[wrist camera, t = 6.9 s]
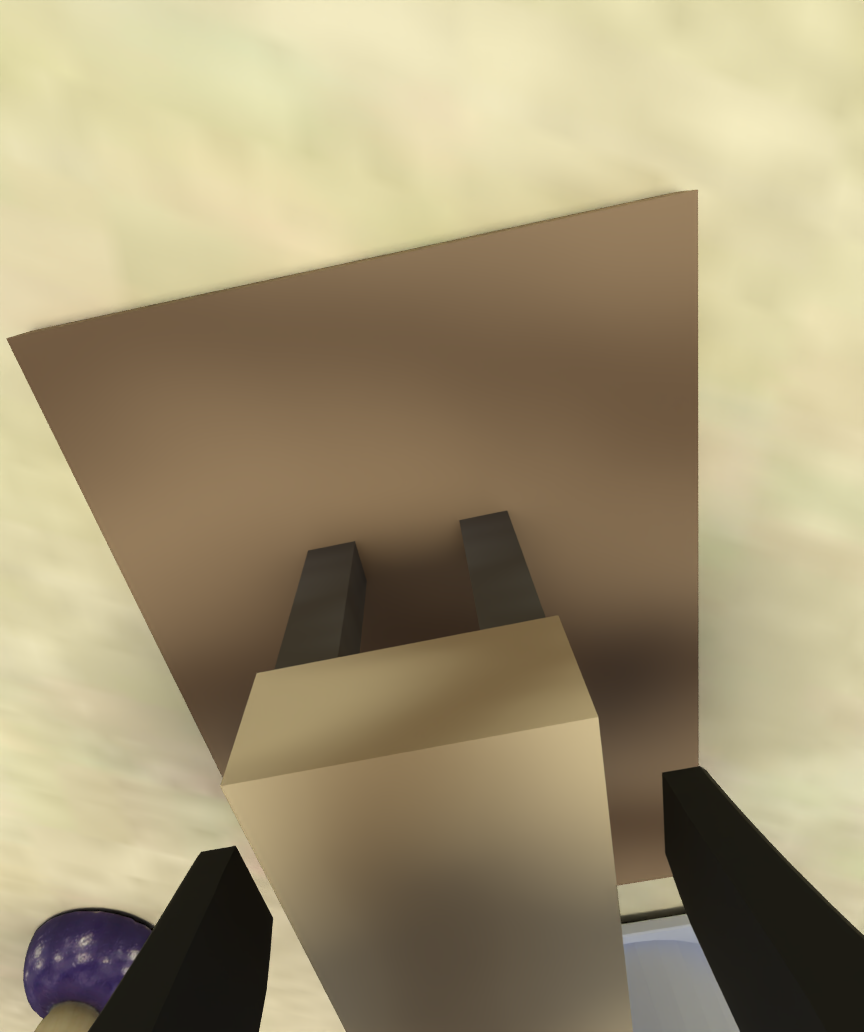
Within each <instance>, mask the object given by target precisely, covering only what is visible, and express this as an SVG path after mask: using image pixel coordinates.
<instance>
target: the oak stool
mask: <svg viewBox="0 0 864 1032" xmlns="http://www.w3.org/2000/svg"><path fill="white" fill-rule="evenodd" d="M459 522H460V527H461V532H462V537H463V543H464V548H465V553H466V559H467V564H468V569H469V575H470V580H471V585H472V591H473V596H474V601H475V606H476V612H477V617H478V622H479V628H480V630H479V631H473V632H468V633H463V634H458V635H453V636H447V637H442V638H437V639H432V640H427V641H421V642H416V643H411V644H406V645H401V646H395V647H390V648H385V649H380V650H375V651H369V652H364V653H360V645H361V635H362V625H363V615H364V604H365V594H366V584H367V580H366V577H365V574H364V570H363V567H362V563H361V560H360V557H359V553H358V550H357V547H356V543H355V541H353V542H348V543H343V544H338V545H333V546H328V547H323V548H318V549H313V550H308V552H307V556H306V559H305V563H304V566H303V570H302V574H301V577H300V581H299V584H298V588H297V591H296V595H295V598H294V602H293V605H292V609H291V612H290V616H289V619H288V623H287V626H286V630H285V633H284V637H283V640H282V644H281V647H280V651H279V654H278V658H277V661H276V665H275V668H274V670H271V671H266V672H260V673H257V674H256V677H255V680H254V683H253V686H252V689H251V692H250V695H249V699H248V702H247V705H246V708H245V711H244V714H243V717H242V720H241V723H240V727H239V730H238V733H237V736H236V739H235V742H234V745H233V748H232V751H231V755H230V758H229V761H228V764H227V767H226V770H225V773H224V776H223V779H222V783H221V786H220V787H221V789H222V791H223V793H224V795H225V797H226V798H227V800H228V802H229V804H230V806H231V808H232V810H233V812H234V814H235V816H236V818H237V820H238V822H239V824H240V826H241V828H242V830H243V832H244V834H245V836H246V837H247V839H248V841H249V843H250V845H251V847H252V849H253V851H254V853H255V855H256V857H257V859H258V861H259V863H260V865H261V867H262V869H263V871H264V873H265V875H266V876H267V878H268V880H269V882H270V884H271V886H272V888H273V890H274V892H275V894H276V896H277V898H278V900H279V902H280V904H281V906H282V908H283V910H284V912H285V914H286V915H287V917H288V919H289V921H290V923H291V925H292V927H293V929H294V931H295V933H296V935H297V937H298V939H299V941H300V943H301V945H302V947H303V949H304V951H305V953H306V954H307V956H308V958H309V960H310V962H311V964H312V966H313V968H314V970H315V972H316V974H317V976H318V978H319V980H320V982H321V984H322V986H323V988H324V990H325V992H326V993H327V995H328V997H329V999H330V1001H331V1003H332V1005H333V1007H334V1009H335V1011H336V1013H337V1015H338V1017H339V1019H340V1021H341V1023H342V1025H343V1027H344V1029H345V1031H346V1032H633V1028H632V1019H631V1009H630V1000H629V991H628V982H627V973H626V964H625V955H624V946H623V937H622V928H621V919H620V909H619V900H618V891H617V882H616V873H615V864H614V855H613V846H612V837H611V828H610V819H609V809H608V800H607V791H606V782H605V773H604V764H603V755H602V746H601V737H600V728H599V718H598V715H597V712H596V710H595V707H594V705H593V702H592V700H591V697H590V695H589V692H588V689H587V687H586V684H585V682H584V679H583V677H582V674H581V672H580V669H579V667H578V664H577V661H576V659H575V656H574V654H573V651H572V649H571V646H570V644H569V641H568V639H567V636H566V633H565V631H564V628H563V626H562V623H561V621H560V618H559V616H558V615H557V616H551V617H545V614H544V611H543V608H542V606H541V603H540V600H539V597H538V595H537V592H536V589H535V586H534V583H533V581H532V578H531V575H530V572H529V569H528V567H527V564H526V561H525V558H524V556H523V553H522V550H521V547H520V544H519V542H518V539H517V536H516V533H515V531H514V528H513V525H512V522H511V519H510V517H509V514H508V511H502V512H497V513H492V514H487V515H482V516H477V517H472V518H467V519H462V520H459Z"/></svg>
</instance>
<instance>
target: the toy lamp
mask: <svg viewBox="0 0 864 1032" xmlns="http://www.w3.org/2000/svg"><path fill="white" fill-rule="evenodd" d="M151 932H152V930H151V929H149V928H148V927H147V926H145V925H144V924H140V923H138V922H135V921H134V920H133V919H131V918H128V917H125V916H121V915H118V914H113V913H108V912H103V911H75V912H71V913H66V914H63V915H60V916H57V917H54V918H52V919H50V920H49V921H47V922H46V923H44V924H43V925H42V926H41V927H40V928H39V929H37V930H36V932H35V933H34V936H33V938H32V940H31V942H30V944H29V947H28V951H27V954H26V958H25V964H24V978H23V981H24V988H25V992H26V996H27V999H28V1002H29V1003H30V1005H31V1007H32V1009H33V1010H34V1011H35V1012H37V1014H38V1015H39V1016H40V1017H42V1018H43V1020H42V1021H41V1022H40V1024H39V1025H38V1027H37V1028H36V1030H35V1032H88V1030H89V1029H90V1027H91V1026H92V1024H93V1023H94V1021H95V1020H96V1018H97V1017H98V1015H99V1014H100V1012H101V1011H102V1009H103V1008H104V1006H105V1005H106V1003H107V1002H108V1000H109V998H110V997H111V995H112V994H113V992H114V991H115V989H116V987H117V986H118V984H119V983H120V981H121V980H122V978H123V977H124V975H125V973H126V972H127V970H128V969H129V967H130V966H131V964H132V962H133V961H134V959H135V958H136V956H137V955H138V953H139V951H140V950H141V948H142V947H143V945H144V943H145V942H146V940H147V938H148V937H149V935H150V934H151Z"/></svg>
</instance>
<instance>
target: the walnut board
mask: <svg viewBox="0 0 864 1032" xmlns="http://www.w3.org/2000/svg"><path fill="white" fill-rule="evenodd" d="M6 339H7V341H8V343H9V345H10V347H11V349H12V351H13V353H14V355H15V357H16V359H17V361H18V363H19V365H20V367H21V369H22V371H23V373H24V375H25V377H26V379H27V381H28V383H29V385H30V387H31V389H32V392H33V394H34V396H35V398H36V400H37V402H38V404H39V406H40V408H41V410H42V412H43V414H44V416H45V418H46V420H47V422H48V424H49V426H50V428H51V430H52V432H53V434H54V436H55V438H56V440H57V442H58V444H59V446H60V448H61V450H62V452H63V454H64V456H65V458H66V461H67V463H68V465H69V467H70V469H71V471H72V473H73V475H74V477H75V479H76V481H77V483H78V485H79V487H80V489H81V491H82V493H83V495H84V497H85V499H86V501H87V503H88V505H89V507H90V509H91V511H92V513H93V515H94V517H95V519H96V521H97V523H98V525H99V527H100V530H101V532H102V534H103V536H104V538H105V540H106V542H107V544H108V546H109V548H110V550H111V552H112V554H113V556H114V558H115V560H116V562H117V564H118V566H119V568H120V570H121V572H122V574H123V576H124V578H125V580H126V582H127V584H128V586H129V588H130V590H131V592H132V594H133V596H134V599H135V601H136V603H137V605H138V607H139V609H140V611H141V613H142V615H143V617H144V619H145V621H146V623H147V625H148V627H149V629H150V631H151V633H152V635H153V637H154V639H155V641H156V643H157V645H158V647H159V649H160V651H161V653H162V655H163V657H164V659H165V661H166V663H167V665H168V667H169V670H170V672H171V674H172V676H173V678H174V680H175V682H176V684H177V686H178V688H179V690H180V692H181V694H182V696H183V698H184V700H185V702H186V704H187V706H188V708H189V710H190V712H191V714H192V716H193V718H194V720H195V722H196V724H197V726H198V728H199V730H200V732H201V734H202V736H203V739H204V741H205V743H206V745H207V747H208V749H209V751H210V753H211V755H212V757H213V759H214V761H215V763H216V765H217V767H218V769H219V771H220V773H221V775H222V777H223V776H224V773H225V770H226V767H227V764H228V761H229V758H230V755H231V751H232V748H233V745H234V742H235V739H236V736H237V733H238V730H239V727H240V723H241V720H242V717H243V714H244V711H245V708H246V705H247V702H248V699H249V695H250V692H251V689H252V686H253V683H254V680H255V677H256V674H257V673H260V672H266V671H271V670H274V668H275V665H276V661H277V658H278V654H279V651H280V647H281V644H282V640H283V637H284V633H285V630H286V626H287V623H288V619H289V616H290V612H291V609H292V605H293V602H294V598H295V595H296V591H297V588H298V584H299V581H300V577H301V574H302V570H303V566H304V563H305V559H306V556H307V552H308V550H313V549H318V548H323V547H328V546H333V545H338V544H343V543H348V542H353V541H355V543H356V547H357V550H358V553H359V557H360V560H361V563H362V567H363V570H364V574H365V577H366V580H367V584H366V594H365V604H364V615H363V625H362V635H361V645H360V653H364V652H369V651H375V650H380V649H385V648H390V647H395V646H401V645H406V644H411V643H416V642H421V641H427V640H432V639H437V638H442V637H447V636H453V635H458V634H463V633H468V632H473V631H479V630H480V628H479V622H478V617H477V612H476V606H475V601H474V596H473V591H472V585H471V580H470V575H469V569H468V564H467V559H466V553H465V548H464V543H463V537H462V532H461V527H460V522H459V520H462V519H467V518H472V517H477V516H482V515H487V514H492V513H497V512H502V511H508V514H509V517H510V519H511V522H512V525H513V528H514V531H515V533H516V536H517V539H518V542H519V544H520V547H521V550H522V553H523V556H524V558H525V561H526V564H527V567H528V569H529V572H530V575H531V578H532V581H533V583H534V586H535V589H536V592H537V595H538V597H539V600H540V603H541V606H542V608H543V611H544V614H545V617H551V616H557V615H558V616H559V618H560V621H561V623H562V626H563V628H564V631H565V633H566V636H567V639H568V641H569V644H570V646H571V649H572V651H573V654H574V656H575V659H576V661H577V664H578V667H579V669H580V672H581V674H582V677H583V679H584V682H585V684H586V687H587V689H588V692H589V695H590V697H591V700H592V702H593V705H594V707H595V710H596V712H597V715H598V718H599V728H600V737H601V746H602V755H603V764H604V773H605V782H606V791H607V800H608V809H609V819H610V828H611V837H612V846H613V855H614V864H615V873H616V882H617V885H623V884H630V883H636V882H642V881H648V880H654V879H660V878H666V877H672V876H673V874H672V871H671V869H670V866H669V863H668V860H667V857H666V854H665V839H664V813H663V787H662V772H668V771H674V770H680V769H686V768H691V767H697V766H698V190H691V191H681V192H675V193H670V194H665V195H661V196H656V197H651V198H647V199H642V200H638V201H633V202H628V203H624V204H619V205H614V206H610V207H605V208H600V209H596V210H591V211H586V212H582V213H577V214H572V215H568V216H563V217H559V218H554V219H549V220H545V221H540V222H535V223H531V224H526V225H521V226H517V227H512V228H507V229H503V230H498V231H493V232H489V233H484V234H480V235H475V236H470V237H466V238H461V239H456V240H452V241H447V242H442V243H438V244H433V245H428V246H424V247H419V248H414V249H410V250H405V251H401V252H396V253H391V254H387V255H382V256H377V257H373V258H368V259H363V260H359V261H354V262H349V263H345V264H340V265H335V266H331V267H326V268H322V269H317V270H312V271H308V272H303V273H298V274H294V275H289V276H284V277H280V278H275V279H270V280H266V281H261V282H256V283H252V284H247V285H243V286H238V287H233V288H229V289H224V290H219V291H215V292H210V293H205V294H201V295H196V296H191V297H187V298H182V299H178V300H173V301H168V302H164V303H159V304H154V305H150V306H145V307H140V308H136V309H131V310H126V311H122V312H117V313H112V314H108V315H103V316H99V317H94V318H89V319H85V320H80V321H75V322H71V323H66V324H61V325H57V326H52V327H47V328H43V329H38V330H33V331H30V332H26V333H23V334H20V335H16V336H13V337H10V338H6Z"/></svg>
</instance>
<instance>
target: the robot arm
mask: <svg viewBox="0 0 864 1032" xmlns="http://www.w3.org/2000/svg"><path fill="white" fill-rule="evenodd" d="M662 787H663V813H664V839H665V854H666V857H667V860H668V863H669V866H670V869H671V871H672V874H673V877H674V880H675V883H676V886H677V889H678V891H679V894H680V897H681V900H682V903H683V905H684V908H685V911H686V914H682V915H676V916H670V917H663V918H657V919H651V920H645V921H639V922H632V923H626V924H621V928H622V937H623V946H624V955H625V964H626V973H627V982H628V991H629V1000H630V1009H631V1019H632V1028H633V1032H864V935H863V934H862V933H861V932H860V931H858V930H857V929H856V928H855V927H854V926H853V925H852V924H851V923H850V922H849V921H848V920H847V919H846V918H845V917H844V916H843V915H842V914H841V913H840V912H839V911H838V910H837V909H835V908H834V907H833V906H832V905H831V904H830V903H829V902H828V901H827V900H826V899H825V898H824V897H823V896H822V895H821V894H820V893H819V892H818V891H817V890H816V889H815V888H814V887H813V886H812V885H811V884H810V883H809V882H808V881H807V880H806V879H805V878H804V877H803V876H802V875H801V874H800V873H799V872H798V871H797V870H796V869H795V868H794V867H793V866H792V865H791V864H790V863H789V862H788V861H787V859H786V858H785V857H784V856H783V855H782V854H781V853H780V852H779V851H778V850H777V849H776V848H775V847H774V846H773V845H772V844H771V843H770V842H769V841H768V840H767V838H766V837H765V836H764V835H763V834H762V833H761V832H760V831H759V830H758V829H757V828H756V827H755V826H754V824H753V823H752V822H751V821H750V820H749V819H748V818H747V817H746V816H745V815H744V813H743V812H742V811H741V810H740V809H739V808H738V807H737V806H736V805H735V803H734V802H733V801H732V800H731V799H730V798H729V797H728V795H727V794H726V793H725V792H724V791H723V790H722V789H721V787H720V786H719V785H718V784H717V783H716V782H715V780H714V779H713V778H712V777H711V776H710V774H709V773H708V772H707V771H706V770H705V769H703V768H702V767H700V766H697V767H691V768H686V769H680V770H674V771H668V772H662ZM272 925H273V917H272V915H271V913H270V911H269V909H268V907H267V905H266V904H265V902H264V900H263V898H262V896H261V894H260V892H259V890H258V888H257V886H256V884H255V882H254V880H253V878H252V876H251V874H250V872H249V871H248V869H247V867H246V865H245V863H244V861H243V859H242V857H241V855H240V853H239V851H238V849H237V847H236V846H232V847H227V848H221V849H215V850H209V851H203V852H201V853H200V854H199V856H198V857H197V858H196V860H195V862H194V863H193V865H192V866H191V868H190V870H189V871H188V873H187V875H186V876H185V878H184V880H183V881H182V883H181V884H180V886H179V888H178V889H177V891H176V893H175V894H174V896H173V898H172V899H171V901H170V903H169V904H168V906H167V908H166V909H165V911H164V912H163V914H162V916H161V917H160V919H159V921H158V922H157V924H156V925H155V927H154V929H153V930H152V932H151V934H150V935H149V937H148V938H147V940H146V942H145V943H144V945H143V947H142V948H141V950H140V951H139V953H138V955H137V956H136V958H135V959H134V961H133V962H132V964H131V966H130V967H129V969H128V970H127V972H126V973H125V975H124V977H123V978H122V980H121V981H120V983H119V984H118V986H117V987H116V989H115V991H114V992H113V994H112V995H111V997H110V998H109V1000H108V1002H107V1003H106V1005H105V1006H104V1008H103V1009H102V1011H101V1012H100V1014H99V1015H98V1017H97V1018H96V1020H95V1021H94V1023H93V1024H92V1026H91V1027H90V1029H89V1030H88V1032H259V1028H260V1022H261V1017H262V1012H263V1007H264V1001H265V996H266V990H267V980H268V971H269V961H270V950H271V937H272Z"/></svg>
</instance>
